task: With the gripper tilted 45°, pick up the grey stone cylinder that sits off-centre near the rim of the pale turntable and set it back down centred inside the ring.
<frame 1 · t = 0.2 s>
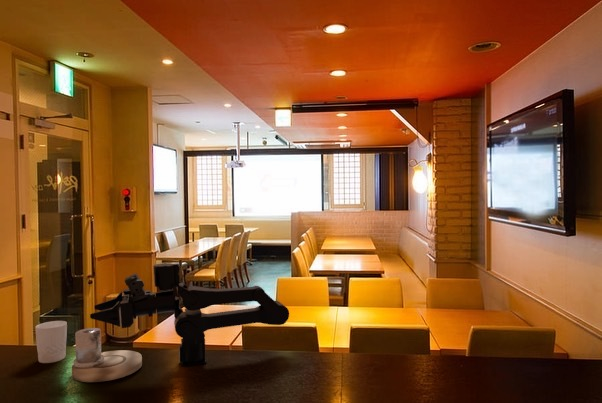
hand: (92, 311, 113), 16 cm above the counter, tool horizontal, fingers open, 9 cm apart
turntable: (108, 370, 116), on the counter
white cup: (52, 359, 125), on the counter
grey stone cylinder: (89, 363, 114), point 3 cm above the counter, touching turntable
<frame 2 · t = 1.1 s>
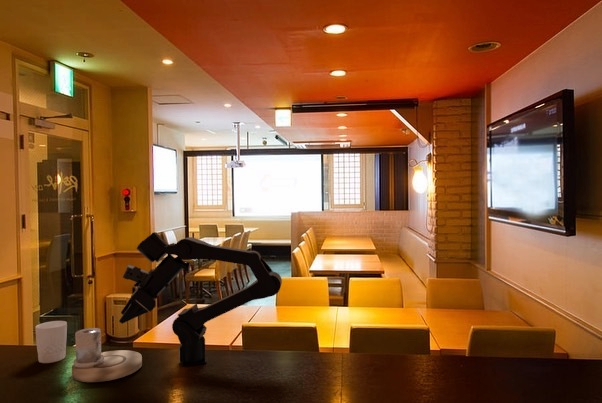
hand: (121, 318, 117), 14 cm above the counter, tool tilted 45°, fingers open, 9 cm apart
nothing on the counter moved.
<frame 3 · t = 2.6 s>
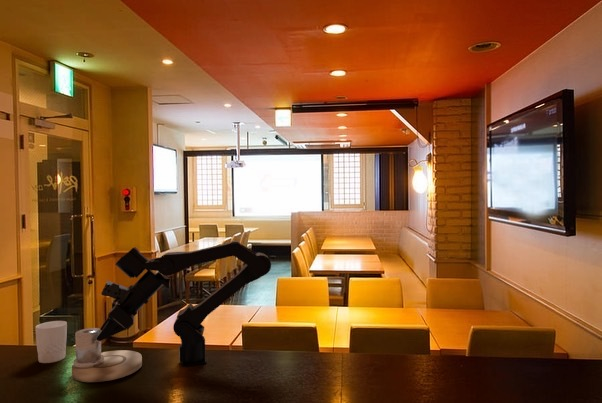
hand: (99, 335, 115), 10 cm above the counter, tool tilted 45°, fingers open, 9 cm apart
nothing on the counter moved.
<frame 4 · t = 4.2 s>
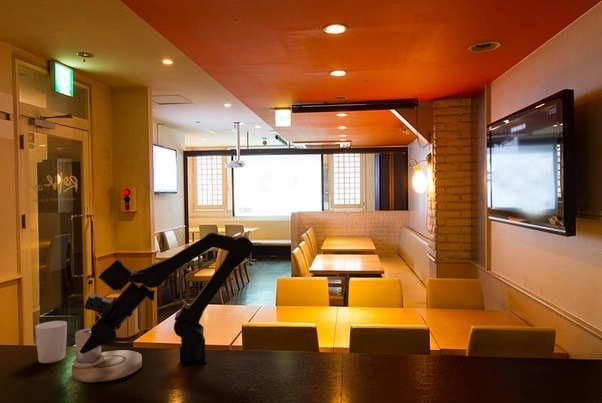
hand: (82, 348, 114), 7 cm above the counter, tool tilted 45°, fingers closed on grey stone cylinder, 6 cm apart
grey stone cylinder: (89, 363, 114), point 3 cm above the counter, touching gripper, turntable
everything else where it was.
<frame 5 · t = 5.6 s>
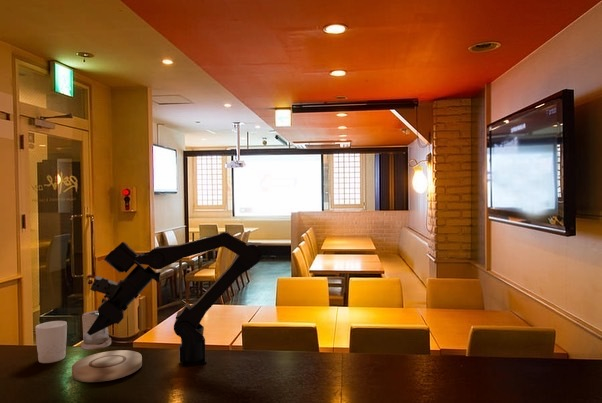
hand: (90, 330, 114), 11 cm above the counter, tool tilted 45°, fingers closed on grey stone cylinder, 6 cm apart
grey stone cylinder: (96, 345, 115), point 7 cm above the counter, touching gripper
everything else where it was.
when the fingers open (8 cm above the counter, at t = 7.3 s): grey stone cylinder drops 1 cm, resting on turntable.
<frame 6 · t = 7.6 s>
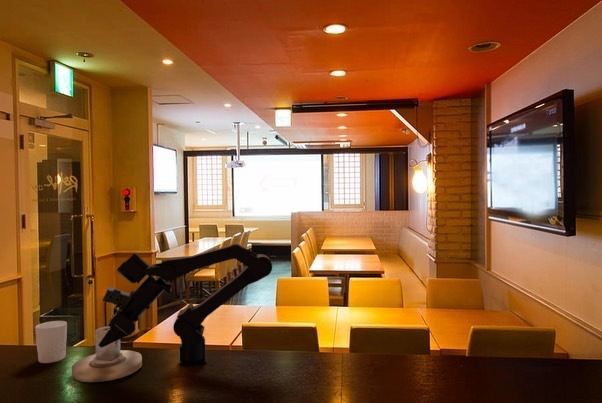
hand: (101, 341, 115), 8 cm above the counter, tool tilted 45°, fingers open, 9 cm apart
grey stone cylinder: (108, 361, 116), point 3 cm above the counter, touching turntable
everything else where it was.
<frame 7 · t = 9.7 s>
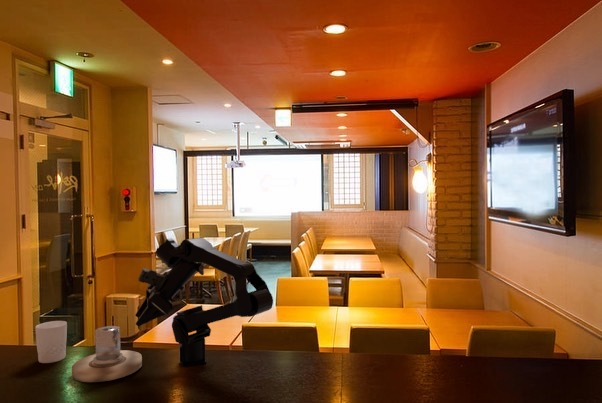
hand: (136, 320, 118), 13 cm above the counter, tool tilted 45°, fingers open, 9 cm apart
nothing on the counter moved.
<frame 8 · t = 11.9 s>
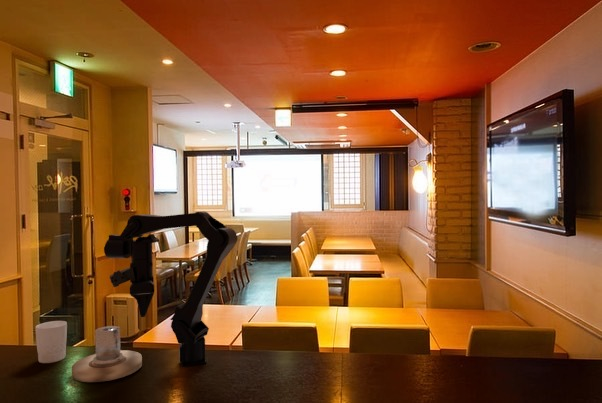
hand: (143, 313, 124), 13 cm above the counter, tool pointing down, fingers open, 9 cm apart
nothing on the counter moved.
at the end: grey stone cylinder 0.1 cm off-centre on the turntable, point 2.5 cm above the turntable's base; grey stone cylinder tilted 0°; the gripper is holding nothing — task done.
